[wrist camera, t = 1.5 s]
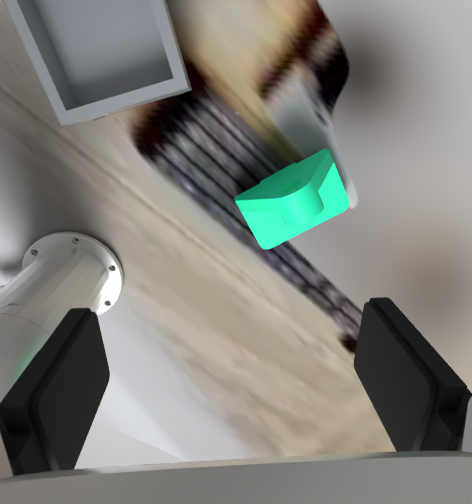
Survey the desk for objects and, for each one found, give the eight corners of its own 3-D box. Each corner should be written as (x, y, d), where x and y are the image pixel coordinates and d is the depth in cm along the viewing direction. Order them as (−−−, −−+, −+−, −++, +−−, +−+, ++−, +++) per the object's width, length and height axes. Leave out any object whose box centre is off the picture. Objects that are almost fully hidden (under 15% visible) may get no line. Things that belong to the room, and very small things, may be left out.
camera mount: (260, 244, 44) (273, 281, 34) (233, 195, 41) (239, 221, 31) (344, 201, 42) (381, 229, 32) (322, 147, 39) (355, 160, 29)
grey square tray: (90, 122, 36) (60, 125, 29) (35, -8, 31) (-16, -40, 24) (193, 91, 35) (188, 87, 29) (153, -47, 30) (136, -91, 24)
